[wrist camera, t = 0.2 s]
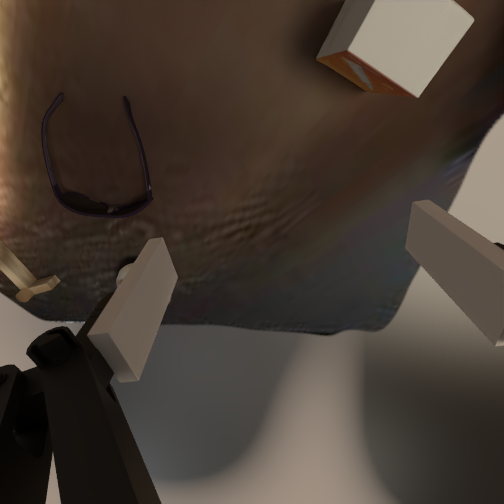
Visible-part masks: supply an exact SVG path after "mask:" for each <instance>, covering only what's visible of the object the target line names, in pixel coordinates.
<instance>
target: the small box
mask: <svg viewBox="0 0 504 504" xmlns="http://www.w3.org/2000/svg"><path fill="white" fill-rule="evenodd" d="M473 22H474V19H473V17H472V16H471V15H470V14H469V13H467V12H466V11H465V10H464V9H463V8H462V7H461V6H459V5H458V4H457V3H456V2H455V1H453V0H345V2H344V4H343V6H342V8H341V10H340V12H339V14H338V16H337V18H336V20H335V22H334V24H333V26H332V28H331V30H330V32H329V34H328V36H327V38H326V40H325V42H324V43H323V45H322V47H321V49H320V51H319V53H318V55H317V57H316V60H317V61H319V62H321V63H323V64H324V65H326V66H328V67H329V68H331V69H333V70H334V71H336V72H337V73H339V74H340V75H342V76H344V77H345V78H347V79H348V80H350V81H351V82H353V83H354V84H356V85H357V86H359V87H360V88H362V89H363V90H365V91H366V92H373V93H382V94H390V95H398V96H406V97H414V98H418V97H419V96H420V95H421V93H422V92H423V90H424V89H425V88H426V86H427V85H428V83H429V82H430V81H431V79H432V78H433V76H434V75H435V74H436V72H437V71H438V70H439V68H440V67H441V66H442V64H443V63H444V61H445V60H446V59H447V57H448V56H449V55H450V53H451V52H452V51H453V49H454V48H455V46H456V45H457V44H458V42H459V41H460V40H461V38H462V37H463V36H464V34H465V33H466V31H467V30H468V29H469V27H470V26H471V25H472V23H473Z"/></svg>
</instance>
